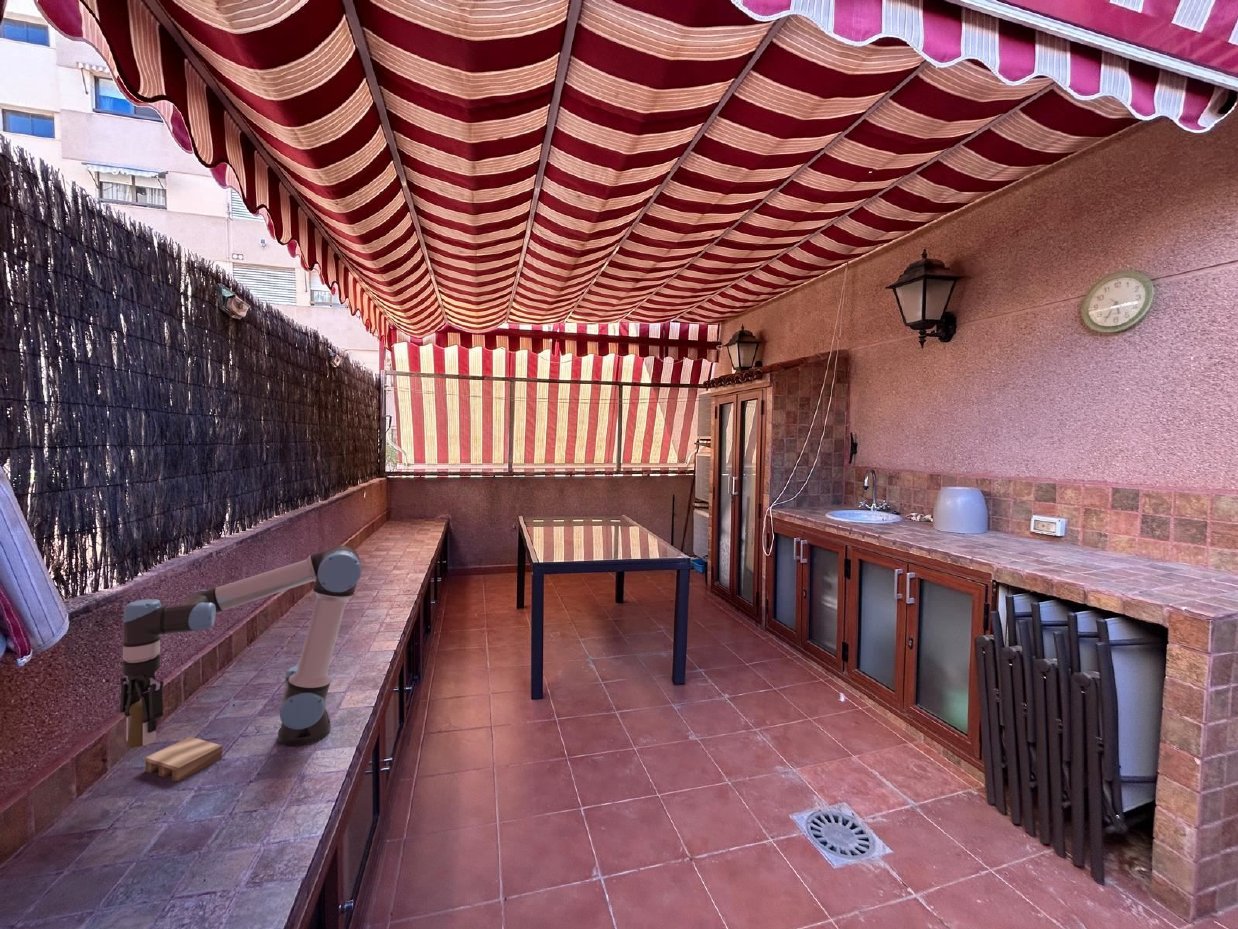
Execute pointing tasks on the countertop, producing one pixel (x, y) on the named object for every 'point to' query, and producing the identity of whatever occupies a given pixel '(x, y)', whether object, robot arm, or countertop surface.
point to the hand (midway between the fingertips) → (141, 740)
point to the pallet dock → (183, 758)
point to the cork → (136, 725)
